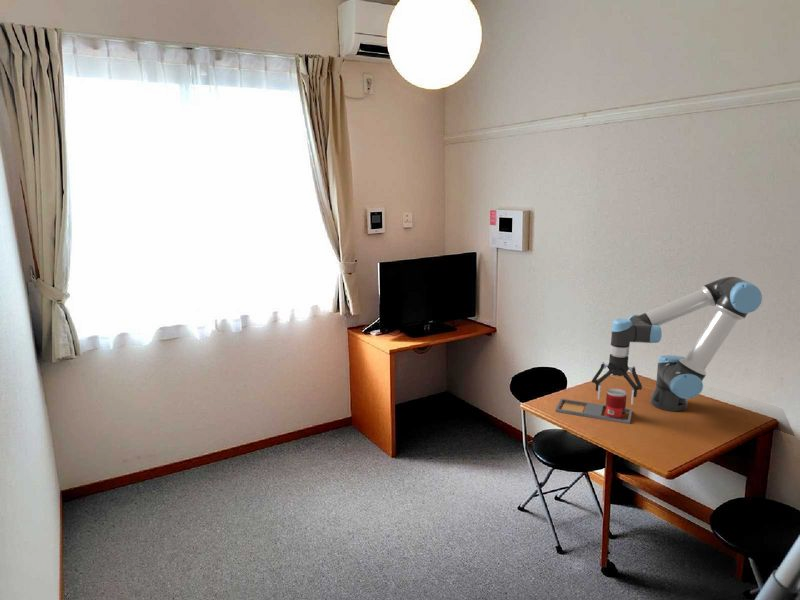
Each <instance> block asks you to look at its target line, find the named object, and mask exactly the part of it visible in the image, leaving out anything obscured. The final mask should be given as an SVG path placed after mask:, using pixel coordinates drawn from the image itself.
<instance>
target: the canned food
mask: <svg viewBox="0 0 800 600" xmlns="http://www.w3.org/2000/svg"><path fill="white" fill-rule="evenodd" d="M627 394H628V393H627V391H625V390H624V389H620V388H609V389H607V390H606V401H605V405H606V409H605V416H607V417H614V418H620V419H624V417H625V416H626V412H625V408H627Z"/></svg>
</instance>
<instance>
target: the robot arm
mask: <svg viewBox="0 0 800 600" xmlns="http://www.w3.org/2000/svg"><path fill="white" fill-rule="evenodd" d="M762 301H763V295H762V292H761V290H760V289H759V287H758V286H756V285H755V284H753V283H752V282H749V281H747V280H744V279H742V278H739V277H737V276H727V277H723V278H720V279H719V278H718V279H717V280H714V281H710V282H708V283H706V284H704V285H703V286H701V289H699V290H696V291H694V292H691V293H689V294H686V295H685V296H682V297H679V298H678V299H675V300H672V301H670V302H668V303H666V304H663V305H661V306H658V307H657V308H656V307H655V308H654V309H652V310H649V311H647V312H644V313H642V314H640V315H639V314H638V315H637V314H632V315H630V316H628V317H627V318H615V319H613V320H612V326H611V337H610V346H609V347H610V348H609V349H610V350H609V353H610V354H609V359H608V363H605V362H601V363H600V367H599V369H598V370H597V372H596V373H595V375H594V376H593V378H592V380H591V383H593V384H595V391H596V392H597V400H600V398H601V390H602V382H603V381H605V380H606V379H607V378H608V377H609V376H611V375H613V376H617V377H623V378H624V379H625V380H626V381H627V382H628V384H629V385H630V387H631V388H632V389H631V399H630V405H634V398H637V397H638V396H637V395H638V391H639V390H642V389H643V385H642V383H641V381H640V379H639V377H638V374H637V371H636V366H632V367H631V366H629V353H630V343H643V344H644V343H645V344H653V343H654V344H656V343H659V342H661V340H662V333H663V332H662V328H661V326H662V325H664V324H667V323H669V322H672V321H675V320H677V319H679V318H681V317H684V316H686V315H688V314H689V315H690V314H691V313H694V312H696V311H698V310H701V309H703V308H706V307H709V306H711V307H716V311H715V312H714V313H713V316H712V317H711V318H710V319H709V321H708V323H707V324H706V325H705V327H704V329H703V331H702V332H701V333H700V334H699V337H698V338H697V339H696V341H695V342H694V343H693V345H692V347H691V349H690V350H689V352H688V353H687V355H685V356H681V355H676V354H675V355H674V354H671V355H670V354H663V355H660V356H659V357H658V358H657V359H658V360H657V368H656V369H657V370H656V383H655V387H654V390H653V391H652V394H651V396H650V404H651V405H652V406H654V407H655V408H657V409H660V410H665V411H668V412H669V411H670V412H682V411H685V410H687V408H688V400H689V399H693V398H696V397H697V396H699V395H700V394H701V392H702V391H703V389H704V384H703V383H704V382H703V380H704V379H705V377H706V376H707V372H706V369H707V368H708V366H709V364H710V363H711V361H712V360H713V358H714V356H715V355H716V354H717V352H718V351H719V350H720V348H721V346H722V345H723V343H724V342H725V340H726V339H727V337H728V336H729V334H730V333H731V331H732V330H733V328H734V327H735V326H736V324H737V322H738V321H740V320H745V318H746V317H747V316H748V314H749V313H752V312H753V313H754V312H755V311H757V310H758V308H759V307H761V304H762V303H763V302H762ZM606 368H607V369H608V371H606V372H605V373H604V374H603V375H602V376H601V377H599V376H600V375H601V373H602V372H603V370H604V369H605V370H606ZM628 371H629V372H630V373H631V374H632V377H633V379H634V381H635V382H634V381H633V379H632V378H631V377H630V375H629V374H628Z"/></svg>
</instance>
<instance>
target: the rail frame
mask: <svg viewBox="0 0 800 600" xmlns="http://www.w3.org/2000/svg"><path fill="white" fill-rule="evenodd" d="M562 404H563V405H562ZM561 406H562V407H561ZM604 409H605V410H606V404H601V403H600V404H599V403H593V402H586V401H579V400H574V399H566V398H560V400H559V402H558V404H557V405H556V408H555V413H562V414H567V415H573V416H574V415H575V416H579V415H580V416H581V417H585V418H586V417H588V418H593V419H599V420H604V421H610V422H611V421H612V422H617V423H623V424H629V425H630V424H631V420H632V414H633V408H627V407H626V408H625V413H626V412H627V413H628V417H627V419H625V418H614V417H609V416H607V415H602V414H603V411H604ZM583 411H584V412H583Z"/></svg>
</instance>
